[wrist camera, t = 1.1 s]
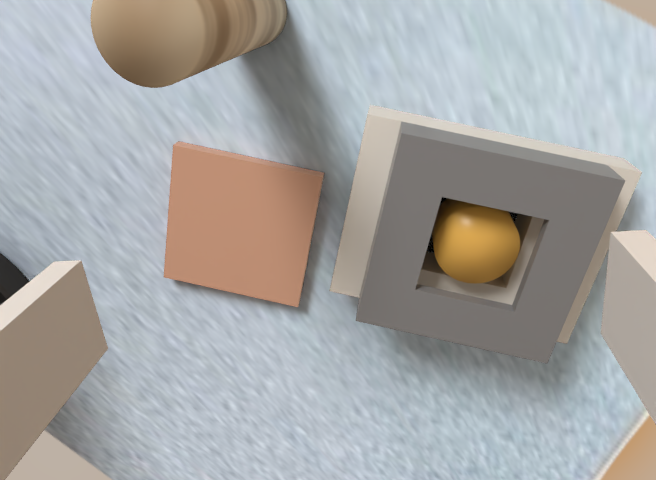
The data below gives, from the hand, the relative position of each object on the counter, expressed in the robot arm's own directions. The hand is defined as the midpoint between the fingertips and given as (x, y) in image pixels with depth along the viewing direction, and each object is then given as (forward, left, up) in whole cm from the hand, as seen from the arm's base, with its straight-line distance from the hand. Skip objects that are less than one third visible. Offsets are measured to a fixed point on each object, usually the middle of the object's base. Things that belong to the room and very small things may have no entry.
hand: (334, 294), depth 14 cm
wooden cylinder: (-8, +4, -24) cm, 25 cm away
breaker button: (+8, -6, -22) cm, 24 cm away
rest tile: (-7, -10, -24) cm, 27 cm away
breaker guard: (+8, -6, -24) cm, 26 cm away
